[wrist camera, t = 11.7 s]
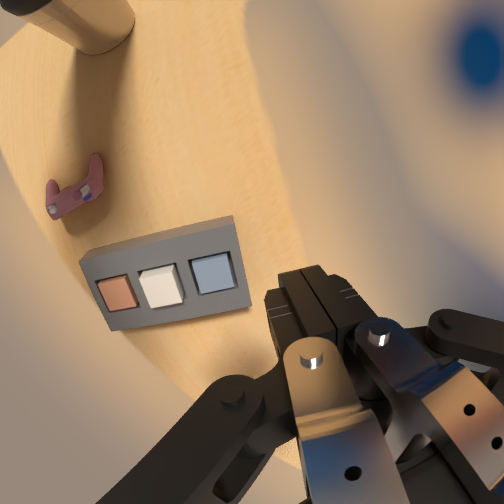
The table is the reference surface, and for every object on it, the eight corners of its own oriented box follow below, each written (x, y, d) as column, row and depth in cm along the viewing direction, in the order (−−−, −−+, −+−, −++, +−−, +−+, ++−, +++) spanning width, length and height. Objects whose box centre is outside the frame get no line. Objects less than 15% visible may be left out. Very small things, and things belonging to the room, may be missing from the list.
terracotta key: (103, 275, 35) (97, 284, 33) (129, 270, 35) (124, 278, 33) (114, 301, 37) (110, 311, 34) (140, 297, 37) (136, 306, 35)
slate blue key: (193, 255, 36) (191, 263, 33) (226, 248, 36) (226, 255, 34) (201, 284, 37) (201, 293, 35) (233, 277, 38) (234, 286, 35)
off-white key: (143, 270, 34) (139, 279, 32) (174, 263, 34) (171, 271, 32) (154, 298, 36) (150, 308, 34) (183, 292, 36) (182, 302, 34)
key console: (89, 250, 35) (78, 261, 31) (232, 215, 36) (234, 223, 33) (118, 316, 40) (111, 331, 36) (248, 291, 41) (252, 305, 37)
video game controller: (63, 200, 33) (50, 232, 29) (47, 179, 30) (31, 208, 25) (113, 173, 33) (105, 203, 29) (99, 147, 30) (86, 174, 25)
